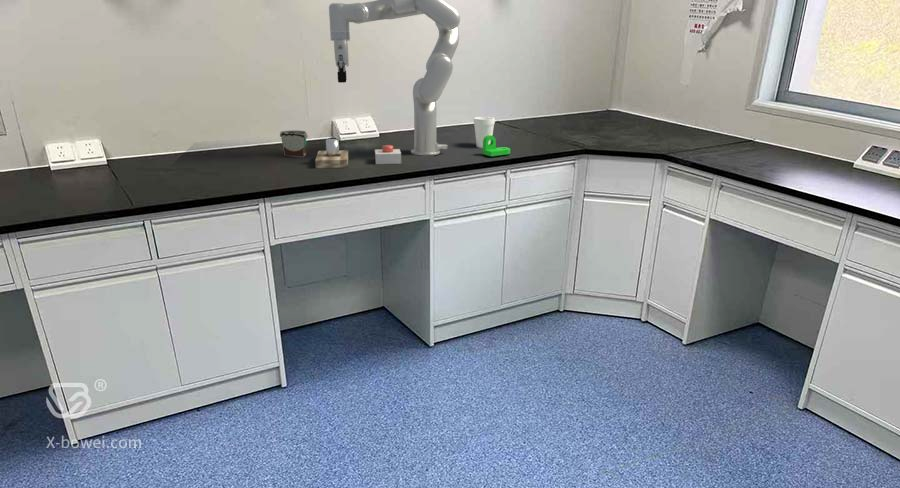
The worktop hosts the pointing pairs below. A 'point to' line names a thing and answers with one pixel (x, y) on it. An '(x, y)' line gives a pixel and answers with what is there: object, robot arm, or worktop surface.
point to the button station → (388, 157)
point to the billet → (332, 148)
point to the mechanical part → (493, 147)
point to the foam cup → (483, 129)
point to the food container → (294, 143)
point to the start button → (387, 148)
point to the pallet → (332, 160)
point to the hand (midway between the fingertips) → (342, 81)
